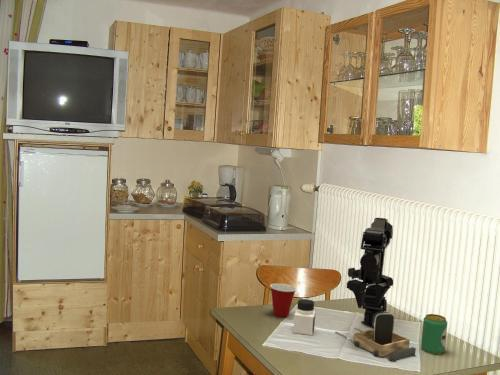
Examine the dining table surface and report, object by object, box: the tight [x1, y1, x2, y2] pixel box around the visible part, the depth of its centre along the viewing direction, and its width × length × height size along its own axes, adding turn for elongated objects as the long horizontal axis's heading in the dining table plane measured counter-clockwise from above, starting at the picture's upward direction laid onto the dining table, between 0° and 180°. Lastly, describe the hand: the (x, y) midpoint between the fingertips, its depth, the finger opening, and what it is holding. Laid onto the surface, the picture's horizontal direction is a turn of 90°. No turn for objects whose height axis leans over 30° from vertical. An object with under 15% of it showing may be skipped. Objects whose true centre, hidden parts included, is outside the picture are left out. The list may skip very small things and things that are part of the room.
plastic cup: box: [269, 283, 297, 318], centre depth 222 cm, size 11×11×12 cm
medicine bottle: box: [293, 298, 316, 336], centre depth 206 cm, size 7×7×12 cm
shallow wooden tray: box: [353, 328, 411, 357], centre depth 194 cm, size 16×13×4 cm
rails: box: [334, 327, 417, 363], centre depth 197 cm, size 12×29×2 cm, turn 34°
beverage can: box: [420, 313, 448, 355], centre depth 194 cm, size 8×8×12 cm
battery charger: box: [372, 311, 395, 345], centre depth 194 cm, size 7×4×11 cm, turn 103°
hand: (368, 306), depth 199 cm, fingers open, 9 cm apart
